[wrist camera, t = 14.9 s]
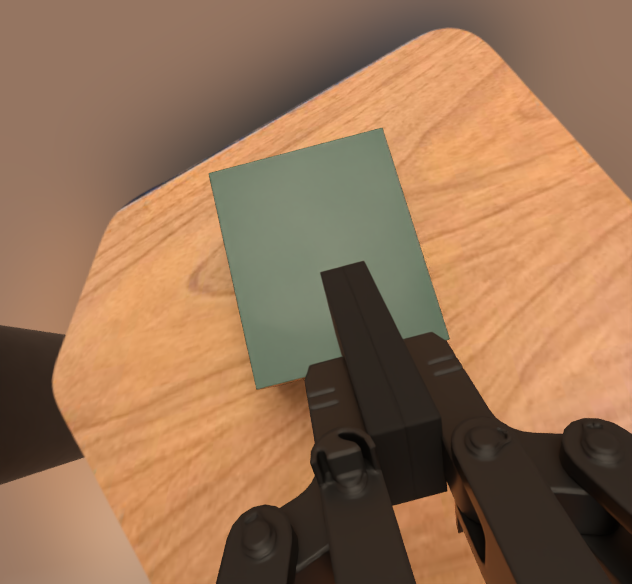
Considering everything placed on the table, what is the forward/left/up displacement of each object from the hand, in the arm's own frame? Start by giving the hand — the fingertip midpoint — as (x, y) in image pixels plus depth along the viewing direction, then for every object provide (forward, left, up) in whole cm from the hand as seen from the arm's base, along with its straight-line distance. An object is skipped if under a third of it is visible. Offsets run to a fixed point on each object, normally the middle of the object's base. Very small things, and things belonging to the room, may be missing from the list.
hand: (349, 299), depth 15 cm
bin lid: (-2, +6, -16) cm, 17 cm away
